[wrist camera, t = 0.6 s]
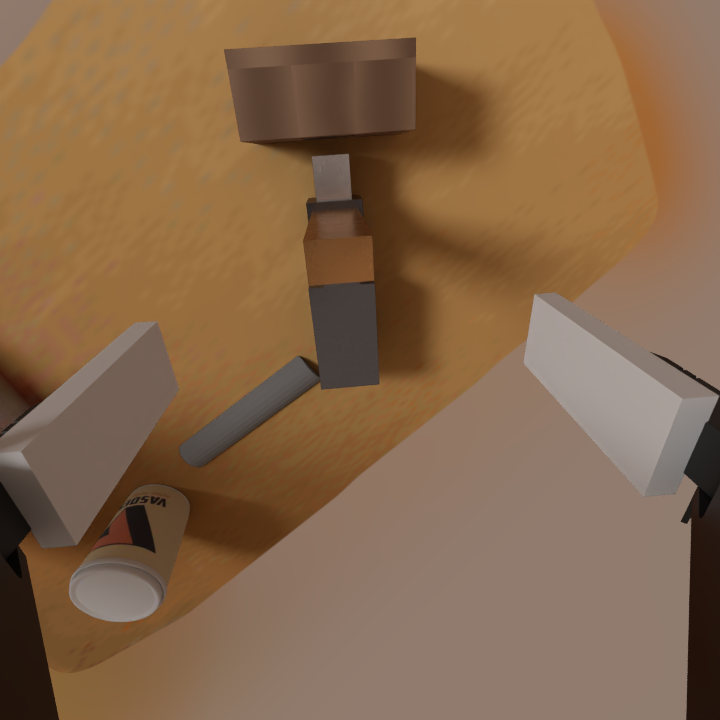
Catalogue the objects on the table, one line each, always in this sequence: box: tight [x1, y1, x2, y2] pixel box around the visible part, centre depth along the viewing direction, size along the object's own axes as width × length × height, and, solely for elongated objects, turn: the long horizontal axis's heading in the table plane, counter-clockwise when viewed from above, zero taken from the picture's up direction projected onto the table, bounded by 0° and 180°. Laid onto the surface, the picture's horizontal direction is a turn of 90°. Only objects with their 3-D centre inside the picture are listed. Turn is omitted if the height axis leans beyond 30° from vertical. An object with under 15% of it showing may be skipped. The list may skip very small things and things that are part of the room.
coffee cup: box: [69, 484, 190, 622], centre depth 46 cm, size 9×9×12 cm
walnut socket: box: [224, 38, 416, 144], centre depth 29 cm, size 12×5×7 cm, turn 94°
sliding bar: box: [303, 154, 374, 286], centre depth 30 cm, size 4×20×16 cm, turn 4°
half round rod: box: [179, 356, 320, 467], centre depth 45 cm, size 4×20×2 cm, turn 128°
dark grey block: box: [309, 281, 379, 390], centre depth 38 cm, size 6×10×6 cm, turn 3°
